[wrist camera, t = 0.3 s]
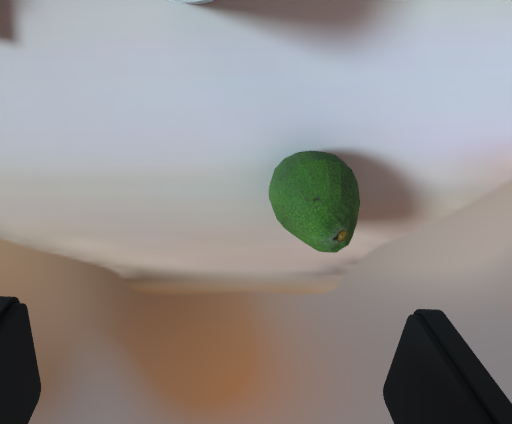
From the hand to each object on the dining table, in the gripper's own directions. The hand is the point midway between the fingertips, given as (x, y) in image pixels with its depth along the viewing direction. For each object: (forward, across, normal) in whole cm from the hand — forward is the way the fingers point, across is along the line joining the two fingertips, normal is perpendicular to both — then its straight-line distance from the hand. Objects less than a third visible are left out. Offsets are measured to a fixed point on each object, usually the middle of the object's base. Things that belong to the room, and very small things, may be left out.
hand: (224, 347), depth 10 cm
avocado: (+31, -9, +7) cm, 33 cm away
